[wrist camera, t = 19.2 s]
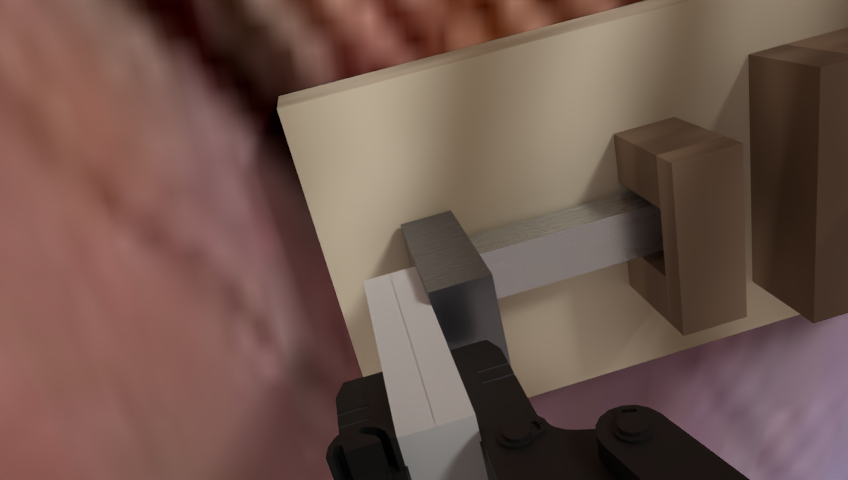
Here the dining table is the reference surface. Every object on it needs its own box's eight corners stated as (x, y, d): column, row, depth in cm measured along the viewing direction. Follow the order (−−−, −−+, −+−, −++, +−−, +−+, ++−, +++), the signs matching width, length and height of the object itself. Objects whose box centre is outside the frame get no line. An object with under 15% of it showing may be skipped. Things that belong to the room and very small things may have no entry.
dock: (988, -89, 22) (1192, -108, 17) (949, 234, 26) (1098, 294, 22) (278, 96, 20) (272, 137, 15) (377, 407, 25) (397, 515, 20)
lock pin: (666, 149, 20) (762, 195, 16) (673, 251, 22) (763, 318, 18) (400, 224, 20) (428, 292, 15) (426, 324, 21) (458, 411, 17)
